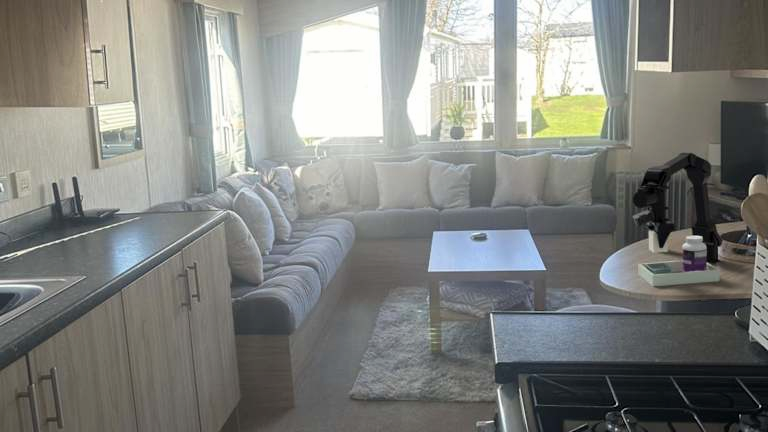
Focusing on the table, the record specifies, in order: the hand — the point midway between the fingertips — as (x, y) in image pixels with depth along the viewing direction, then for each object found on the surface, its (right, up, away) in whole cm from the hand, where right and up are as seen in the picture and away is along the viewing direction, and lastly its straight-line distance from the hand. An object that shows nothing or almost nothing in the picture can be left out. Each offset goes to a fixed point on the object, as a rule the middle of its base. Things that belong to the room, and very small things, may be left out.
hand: (658, 246), depth 269 cm
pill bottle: (+14, -11, +2) cm, 18 cm away
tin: (+1, -12, +2) cm, 12 cm away
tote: (+8, -11, +2) cm, 14 cm away
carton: (0, -1, 0) cm, 2 cm away
